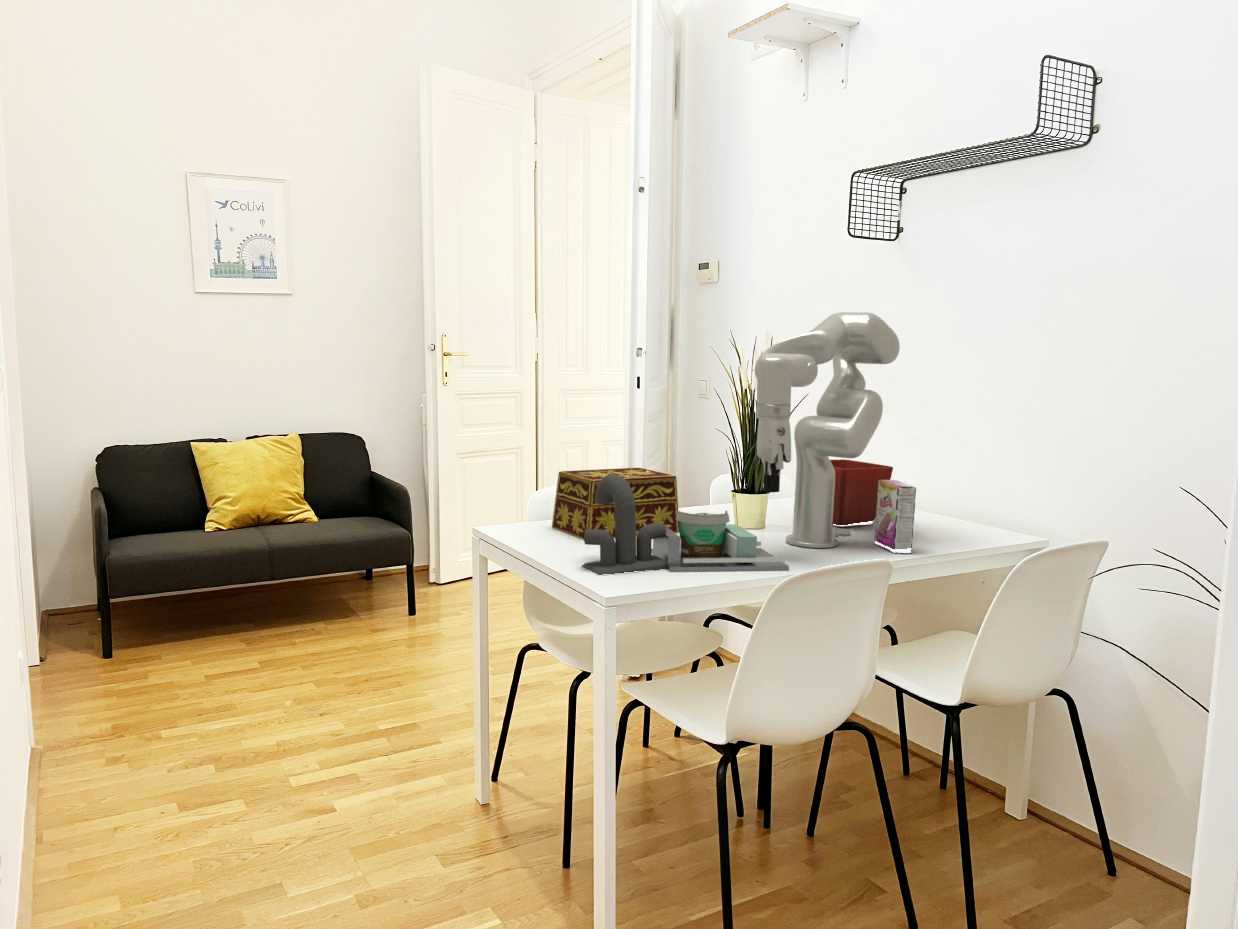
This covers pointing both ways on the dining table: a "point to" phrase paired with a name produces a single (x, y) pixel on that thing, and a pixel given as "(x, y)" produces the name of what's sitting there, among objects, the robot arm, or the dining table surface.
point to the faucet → (623, 533)
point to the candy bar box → (895, 514)
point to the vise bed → (676, 562)
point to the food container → (702, 534)
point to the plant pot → (857, 490)
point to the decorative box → (582, 512)
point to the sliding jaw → (739, 542)
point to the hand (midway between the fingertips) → (771, 491)
